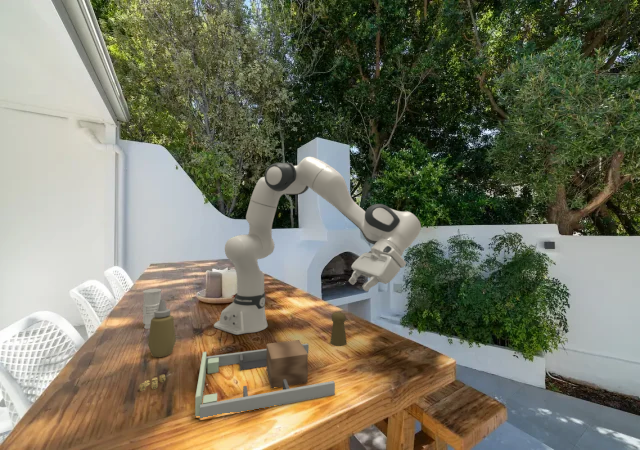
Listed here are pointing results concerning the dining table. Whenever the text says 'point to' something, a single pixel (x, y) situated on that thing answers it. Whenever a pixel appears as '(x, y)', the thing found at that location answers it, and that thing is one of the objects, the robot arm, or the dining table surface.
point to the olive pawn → (338, 329)
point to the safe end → (212, 368)
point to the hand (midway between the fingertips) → (357, 286)
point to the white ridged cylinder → (150, 305)
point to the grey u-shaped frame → (266, 399)
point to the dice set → (154, 383)
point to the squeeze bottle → (161, 332)
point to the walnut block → (286, 363)
